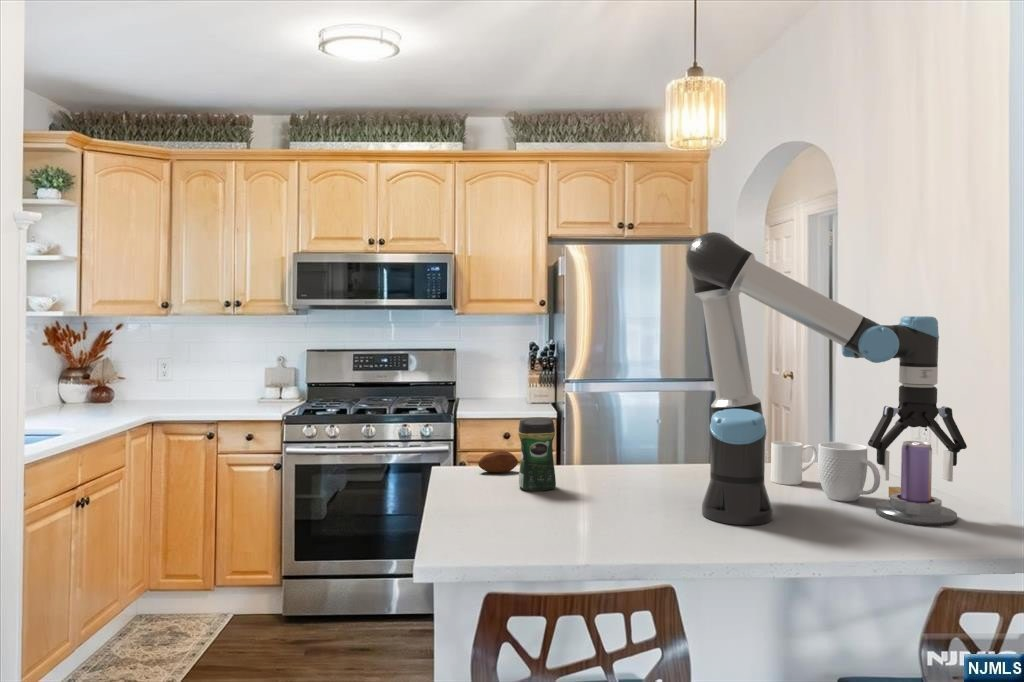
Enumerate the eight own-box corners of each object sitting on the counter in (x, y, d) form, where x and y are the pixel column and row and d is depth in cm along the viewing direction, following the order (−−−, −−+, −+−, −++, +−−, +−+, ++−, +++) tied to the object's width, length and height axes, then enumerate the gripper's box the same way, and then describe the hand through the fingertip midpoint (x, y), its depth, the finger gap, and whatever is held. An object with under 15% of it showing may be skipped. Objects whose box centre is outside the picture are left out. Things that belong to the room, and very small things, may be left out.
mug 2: (891, 503, 175) (892, 449, 174) (865, 510, 169) (866, 454, 168) (834, 490, 187) (835, 440, 187) (808, 496, 181) (808, 444, 180)
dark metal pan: (894, 525, 156) (894, 507, 156) (859, 502, 175) (859, 486, 175) (972, 527, 155) (972, 508, 155) (928, 503, 174) (928, 487, 174)
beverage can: (918, 514, 160) (919, 446, 159) (894, 507, 165) (895, 441, 165) (936, 511, 162) (938, 444, 162) (912, 504, 168) (914, 440, 167)
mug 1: (779, 485, 192) (779, 446, 192) (765, 479, 200) (766, 441, 200) (823, 484, 194) (823, 445, 193) (808, 477, 202) (808, 440, 201)
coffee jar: (552, 483, 195) (552, 414, 194) (558, 491, 187) (558, 419, 186) (516, 485, 194) (516, 415, 193) (520, 492, 186) (520, 420, 185)
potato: (476, 471, 211) (476, 449, 211) (515, 469, 213) (515, 447, 213) (479, 475, 205) (479, 453, 205) (519, 473, 208) (519, 451, 207)
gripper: (866, 386, 160) (865, 482, 161) (986, 387, 158) (983, 484, 159) (853, 383, 167) (852, 475, 168) (967, 384, 165) (965, 476, 166)
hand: (916, 479), depth 163 cm, fingers open, 13 cm apart
